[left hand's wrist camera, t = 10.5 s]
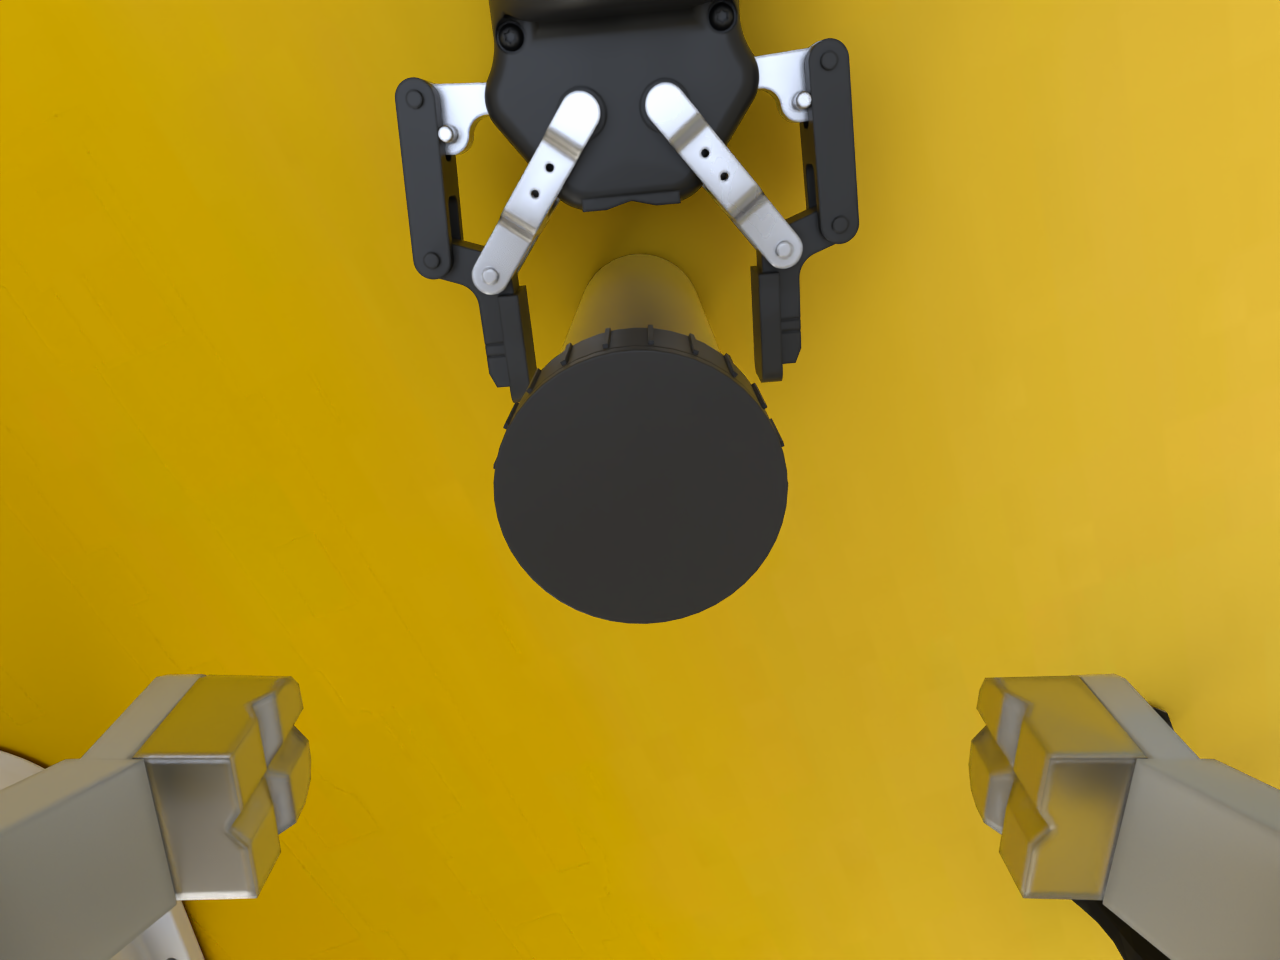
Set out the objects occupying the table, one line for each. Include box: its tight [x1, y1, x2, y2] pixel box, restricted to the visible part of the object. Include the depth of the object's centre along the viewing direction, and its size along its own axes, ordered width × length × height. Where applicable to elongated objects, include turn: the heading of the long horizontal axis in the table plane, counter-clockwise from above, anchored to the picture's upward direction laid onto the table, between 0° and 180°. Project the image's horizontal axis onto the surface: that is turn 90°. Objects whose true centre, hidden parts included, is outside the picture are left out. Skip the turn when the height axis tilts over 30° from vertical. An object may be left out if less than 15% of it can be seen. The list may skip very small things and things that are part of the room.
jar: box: [560, 254, 720, 354], centre depth 27 cm, size 5×5×20 cm
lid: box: [494, 325, 788, 624], centre depth 18 cm, size 6×6×2 cm
